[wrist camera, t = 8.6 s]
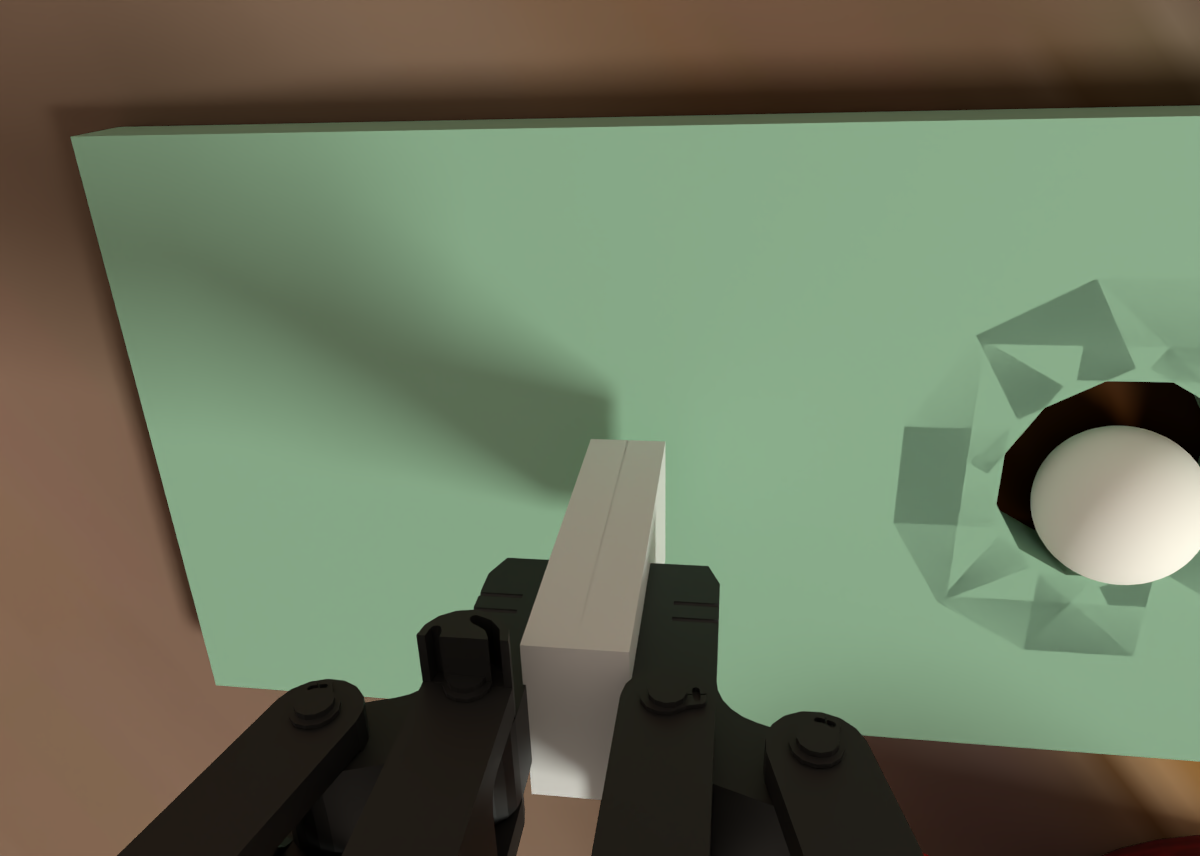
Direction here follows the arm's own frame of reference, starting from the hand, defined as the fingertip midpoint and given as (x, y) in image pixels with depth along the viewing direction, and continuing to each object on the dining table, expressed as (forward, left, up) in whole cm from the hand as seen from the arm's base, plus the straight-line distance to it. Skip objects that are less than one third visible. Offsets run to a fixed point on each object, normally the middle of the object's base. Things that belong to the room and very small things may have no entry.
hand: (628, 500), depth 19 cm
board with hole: (+3, 0, -3) cm, 4 cm away
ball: (+10, 0, -1) cm, 10 cm away
